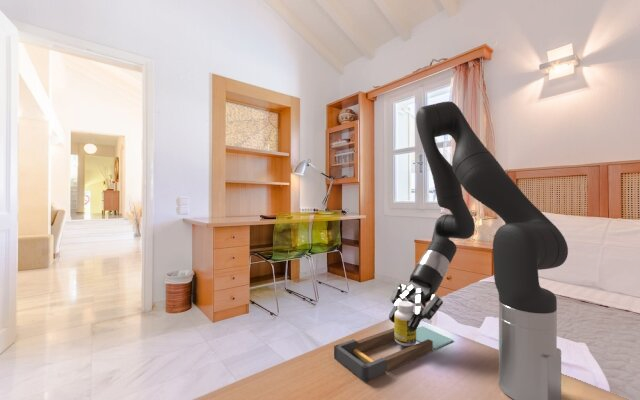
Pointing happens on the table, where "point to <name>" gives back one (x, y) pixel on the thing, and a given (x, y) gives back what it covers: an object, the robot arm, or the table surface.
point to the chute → (398, 357)
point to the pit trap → (359, 361)
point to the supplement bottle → (404, 324)
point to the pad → (431, 337)
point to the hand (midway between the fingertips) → (400, 324)
